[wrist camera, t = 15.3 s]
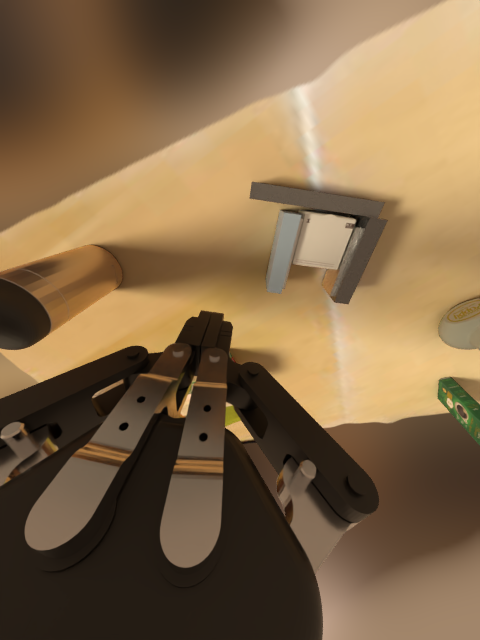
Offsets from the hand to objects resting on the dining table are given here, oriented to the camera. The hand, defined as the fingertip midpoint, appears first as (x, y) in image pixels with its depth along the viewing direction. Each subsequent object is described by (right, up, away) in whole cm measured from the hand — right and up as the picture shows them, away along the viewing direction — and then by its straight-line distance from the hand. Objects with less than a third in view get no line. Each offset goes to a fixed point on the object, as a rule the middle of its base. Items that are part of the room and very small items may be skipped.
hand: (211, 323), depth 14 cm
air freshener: (+47, +1, +28) cm, 55 cm away
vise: (+12, +14, +22) cm, 29 cm away
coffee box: (+54, -17, +39) cm, 69 cm away
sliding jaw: (+9, +13, +23) cm, 28 cm away
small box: (+15, +15, +22) cm, 30 cm away
